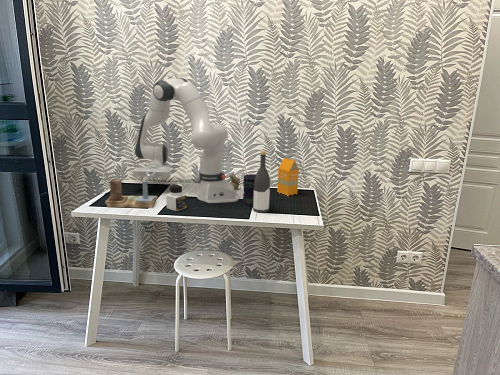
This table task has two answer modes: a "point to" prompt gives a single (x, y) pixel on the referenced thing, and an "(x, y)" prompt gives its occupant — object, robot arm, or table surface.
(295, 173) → the orange juice
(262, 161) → the wine bottle
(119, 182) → the walnut block
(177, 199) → the medicine bottle
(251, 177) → the storage jar
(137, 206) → the board
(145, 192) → the grey post on base
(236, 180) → the chocolate bunny
